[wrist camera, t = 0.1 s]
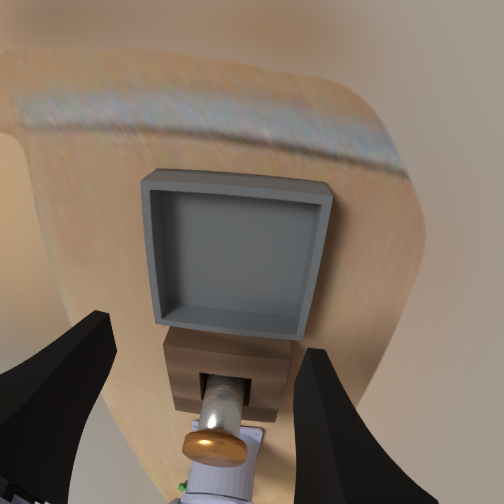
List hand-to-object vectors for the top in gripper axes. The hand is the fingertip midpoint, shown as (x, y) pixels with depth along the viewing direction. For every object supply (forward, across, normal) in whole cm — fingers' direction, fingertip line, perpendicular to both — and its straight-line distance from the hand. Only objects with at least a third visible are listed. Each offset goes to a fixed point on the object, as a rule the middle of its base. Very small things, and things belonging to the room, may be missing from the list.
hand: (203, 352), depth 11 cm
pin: (+10, -1, +12) cm, 16 cm away
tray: (+10, 0, +1) cm, 10 cm away
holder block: (+10, -1, +12) cm, 16 cm away
